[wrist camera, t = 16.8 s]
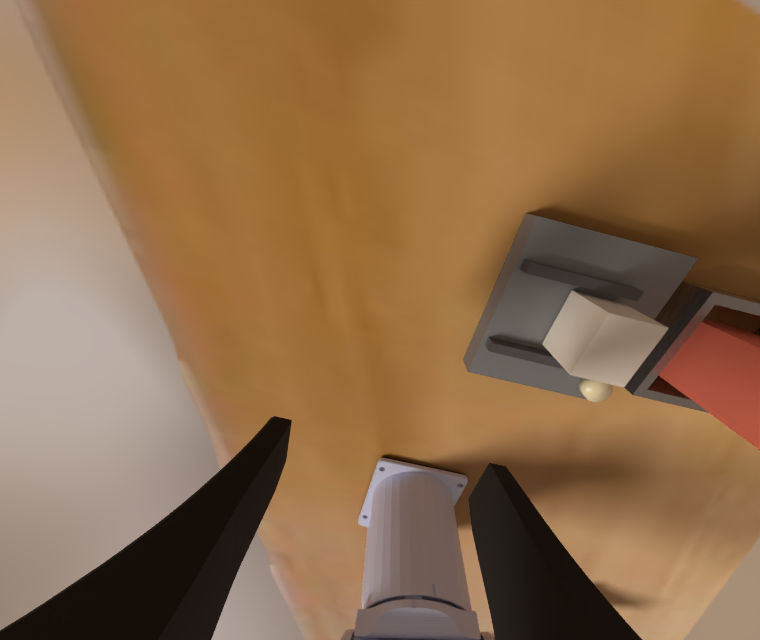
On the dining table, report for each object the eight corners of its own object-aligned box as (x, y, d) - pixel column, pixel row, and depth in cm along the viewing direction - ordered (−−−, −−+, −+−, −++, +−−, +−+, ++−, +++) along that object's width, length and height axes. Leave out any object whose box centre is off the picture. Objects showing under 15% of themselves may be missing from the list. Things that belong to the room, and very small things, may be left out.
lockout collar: (705, 398, 21) (734, 418, 19) (611, 376, 20) (632, 394, 19) (788, 308, 18) (833, 322, 16) (680, 280, 17) (713, 291, 16)
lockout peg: (698, 378, 20) (835, 467, 14) (644, 365, 20) (759, 449, 14) (741, 328, 18) (921, 404, 12) (683, 313, 18) (835, 382, 12)
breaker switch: (587, 354, 18) (624, 387, 15) (541, 344, 18) (569, 374, 15) (621, 302, 16) (669, 328, 14) (571, 290, 16) (609, 313, 13)
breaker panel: (582, 387, 21) (602, 409, 19) (463, 359, 20) (470, 379, 18) (674, 252, 17) (713, 261, 15) (525, 213, 16) (544, 217, 14)
